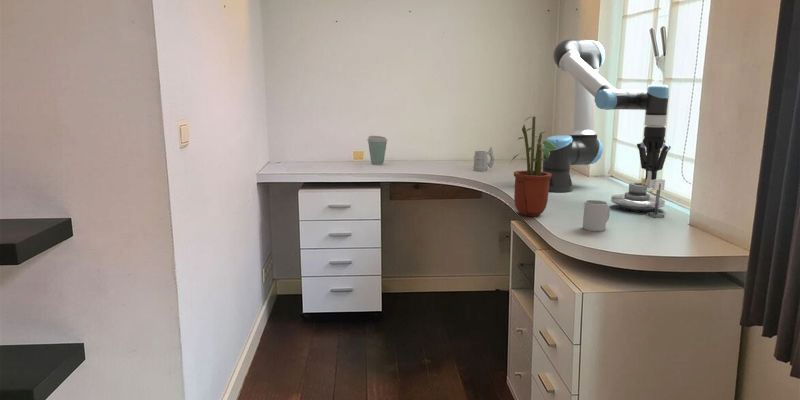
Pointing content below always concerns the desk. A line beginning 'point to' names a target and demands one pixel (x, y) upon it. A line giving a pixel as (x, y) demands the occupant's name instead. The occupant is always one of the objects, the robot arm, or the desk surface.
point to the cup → (595, 215)
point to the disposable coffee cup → (377, 149)
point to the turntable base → (636, 209)
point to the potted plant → (532, 177)
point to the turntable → (638, 204)
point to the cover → (637, 192)
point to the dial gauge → (657, 197)
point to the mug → (483, 160)
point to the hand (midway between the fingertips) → (650, 187)
